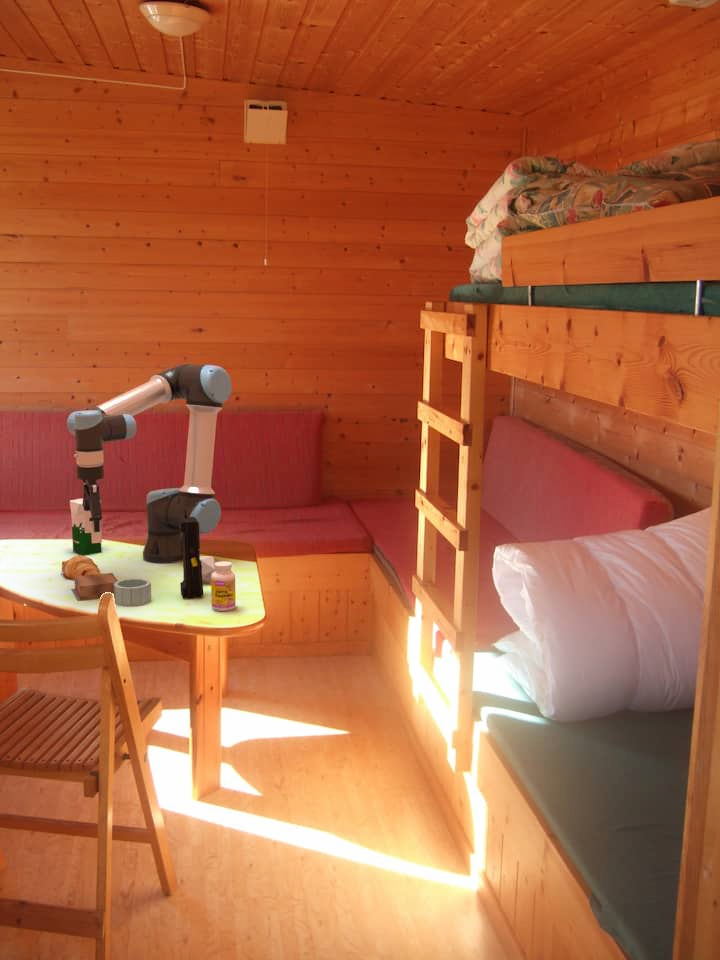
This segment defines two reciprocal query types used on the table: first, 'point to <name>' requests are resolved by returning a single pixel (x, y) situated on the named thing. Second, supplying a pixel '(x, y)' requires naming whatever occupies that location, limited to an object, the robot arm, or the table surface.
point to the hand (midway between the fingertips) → (93, 537)
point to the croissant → (79, 567)
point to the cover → (94, 585)
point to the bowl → (132, 592)
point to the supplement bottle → (223, 587)
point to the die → (207, 568)
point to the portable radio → (191, 558)
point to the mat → (78, 596)
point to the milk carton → (81, 531)
